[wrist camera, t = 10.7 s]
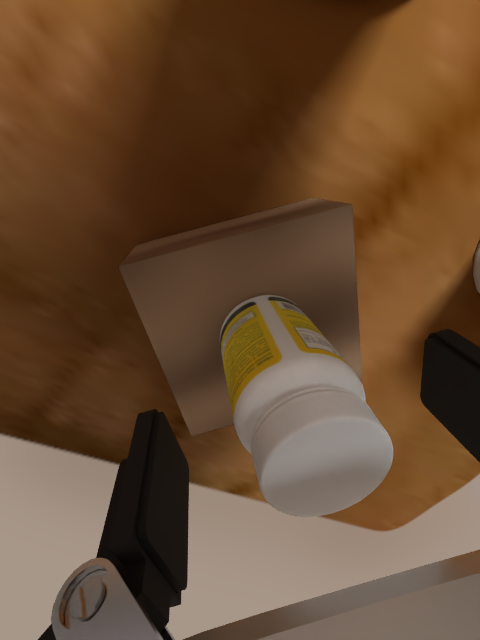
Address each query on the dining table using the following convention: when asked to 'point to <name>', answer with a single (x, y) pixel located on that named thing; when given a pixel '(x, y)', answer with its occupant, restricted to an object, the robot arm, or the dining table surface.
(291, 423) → the supplement bottle
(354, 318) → the walnut block
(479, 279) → the mug
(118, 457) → the dining table surface
